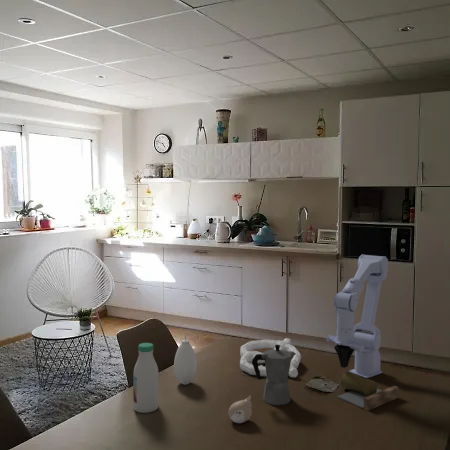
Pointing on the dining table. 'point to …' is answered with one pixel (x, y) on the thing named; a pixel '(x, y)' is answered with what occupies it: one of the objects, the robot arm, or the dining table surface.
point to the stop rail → (380, 398)
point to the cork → (358, 384)
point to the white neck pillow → (249, 355)
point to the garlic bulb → (241, 410)
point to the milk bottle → (145, 381)
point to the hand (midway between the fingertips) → (344, 366)
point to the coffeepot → (275, 375)
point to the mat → (355, 397)
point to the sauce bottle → (185, 363)
